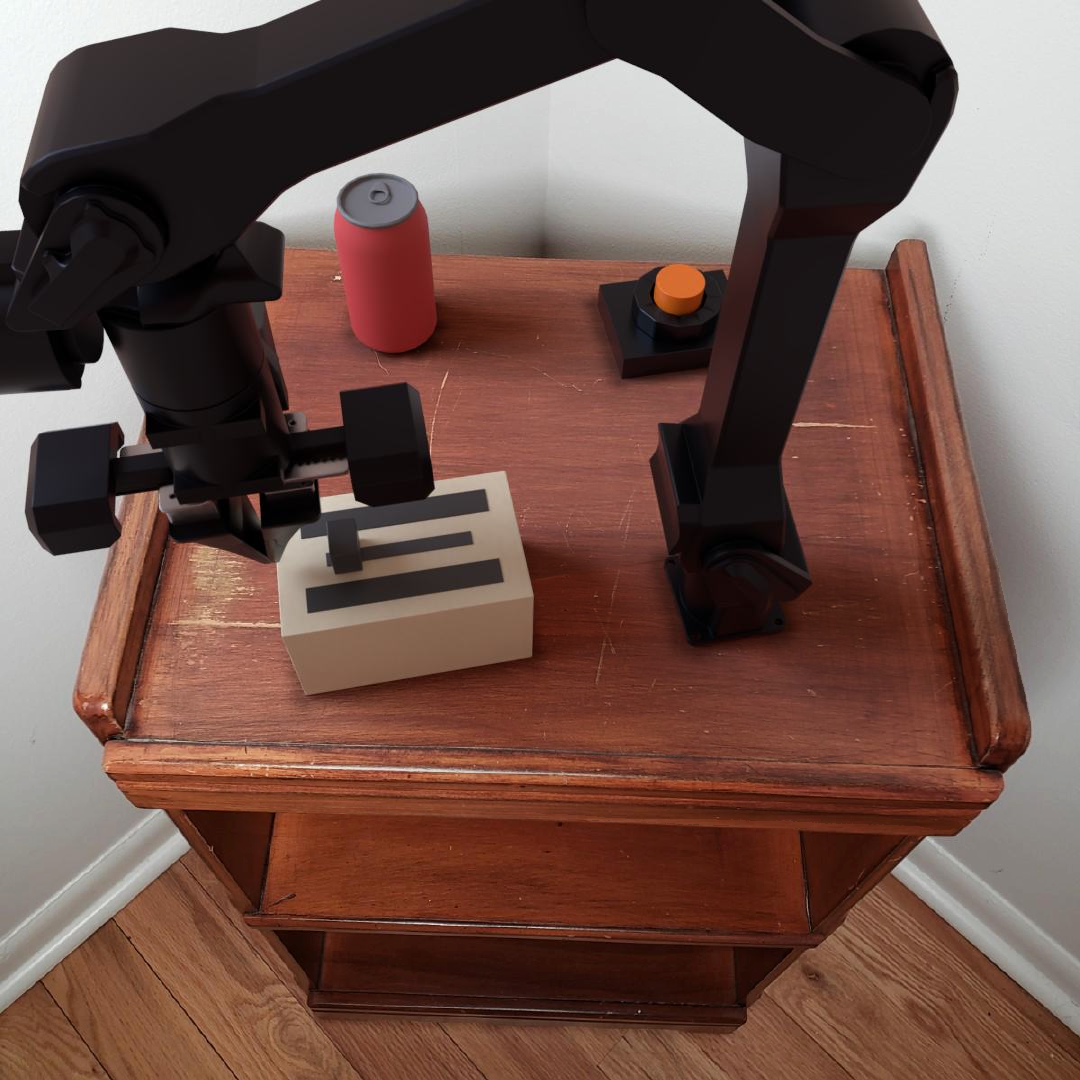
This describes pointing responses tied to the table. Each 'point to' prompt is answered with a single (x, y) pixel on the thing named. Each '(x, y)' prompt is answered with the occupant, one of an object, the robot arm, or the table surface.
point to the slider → (344, 545)
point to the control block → (659, 326)
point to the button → (679, 289)
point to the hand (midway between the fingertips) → (272, 556)
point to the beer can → (385, 262)
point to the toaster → (409, 588)
